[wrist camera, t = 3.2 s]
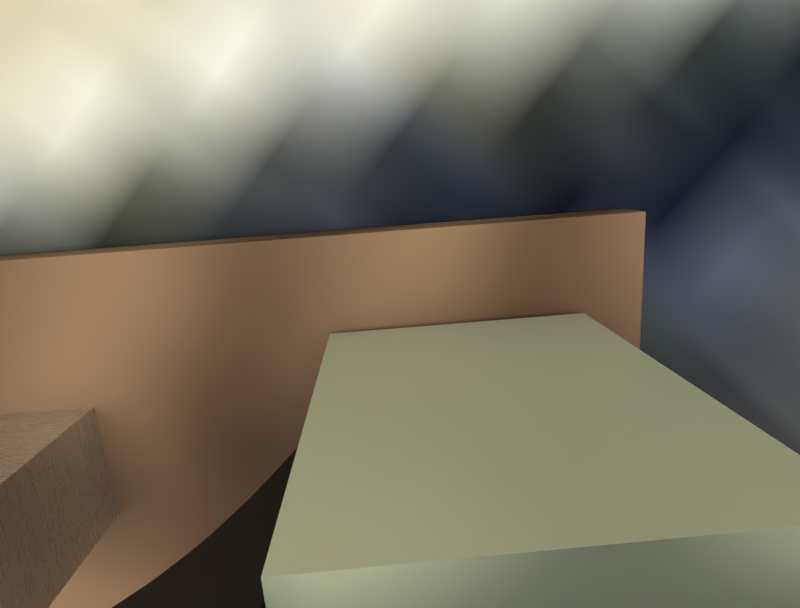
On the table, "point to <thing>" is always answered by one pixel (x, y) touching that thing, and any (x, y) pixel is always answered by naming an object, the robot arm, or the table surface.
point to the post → (50, 501)
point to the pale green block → (528, 479)
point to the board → (262, 348)
